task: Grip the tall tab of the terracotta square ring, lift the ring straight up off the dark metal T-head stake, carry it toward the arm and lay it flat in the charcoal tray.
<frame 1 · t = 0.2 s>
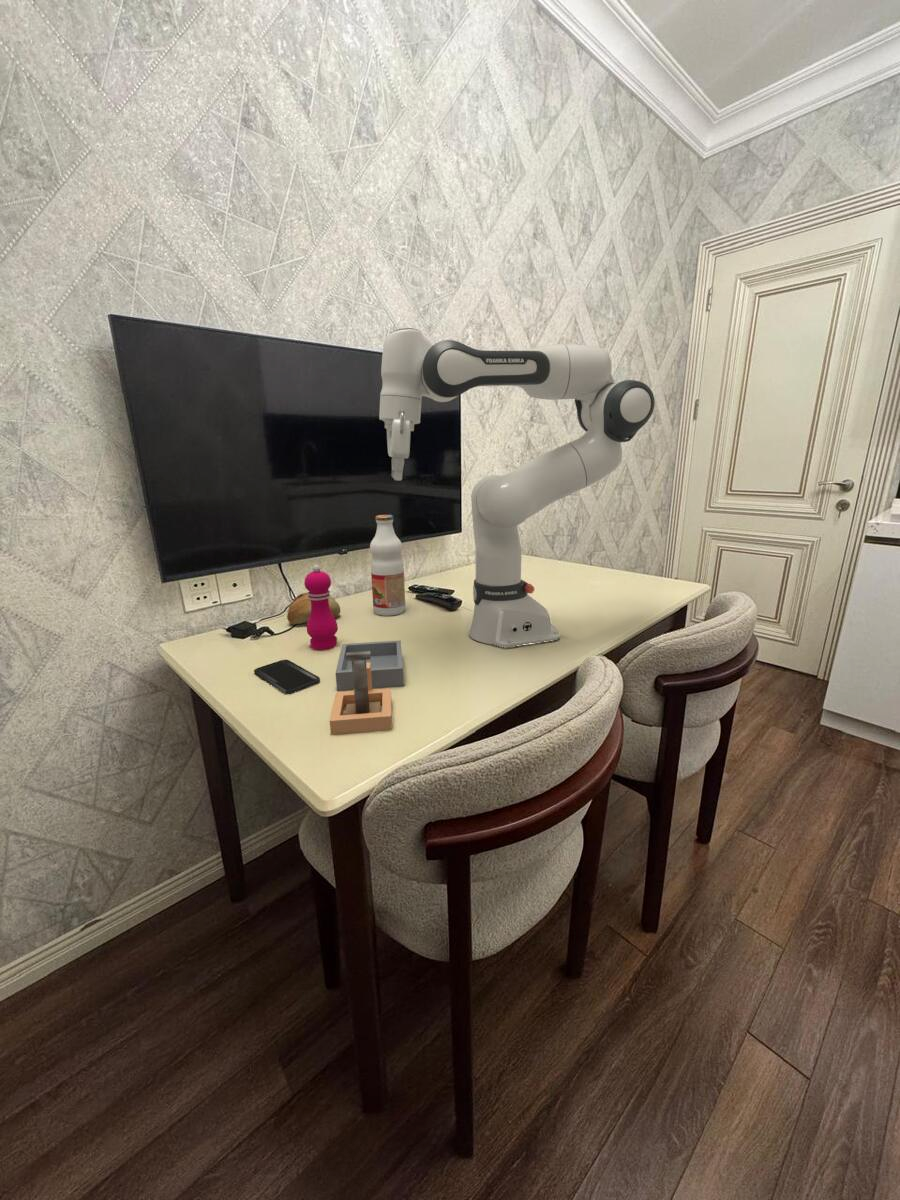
hand: (396, 479, 107), 39 cm above the table, tool pointing down, fingers open, 8 cm apart
tray: (371, 671, 101), on the table
pepper mill: (324, 646, 116), on the table
stake: (363, 716, 84), on the table
phone: (286, 679, 99), on the table
ring: (363, 716, 84), on the table
bread roll: (314, 621, 134), on the table
fruit juice: (389, 612, 140), on the table
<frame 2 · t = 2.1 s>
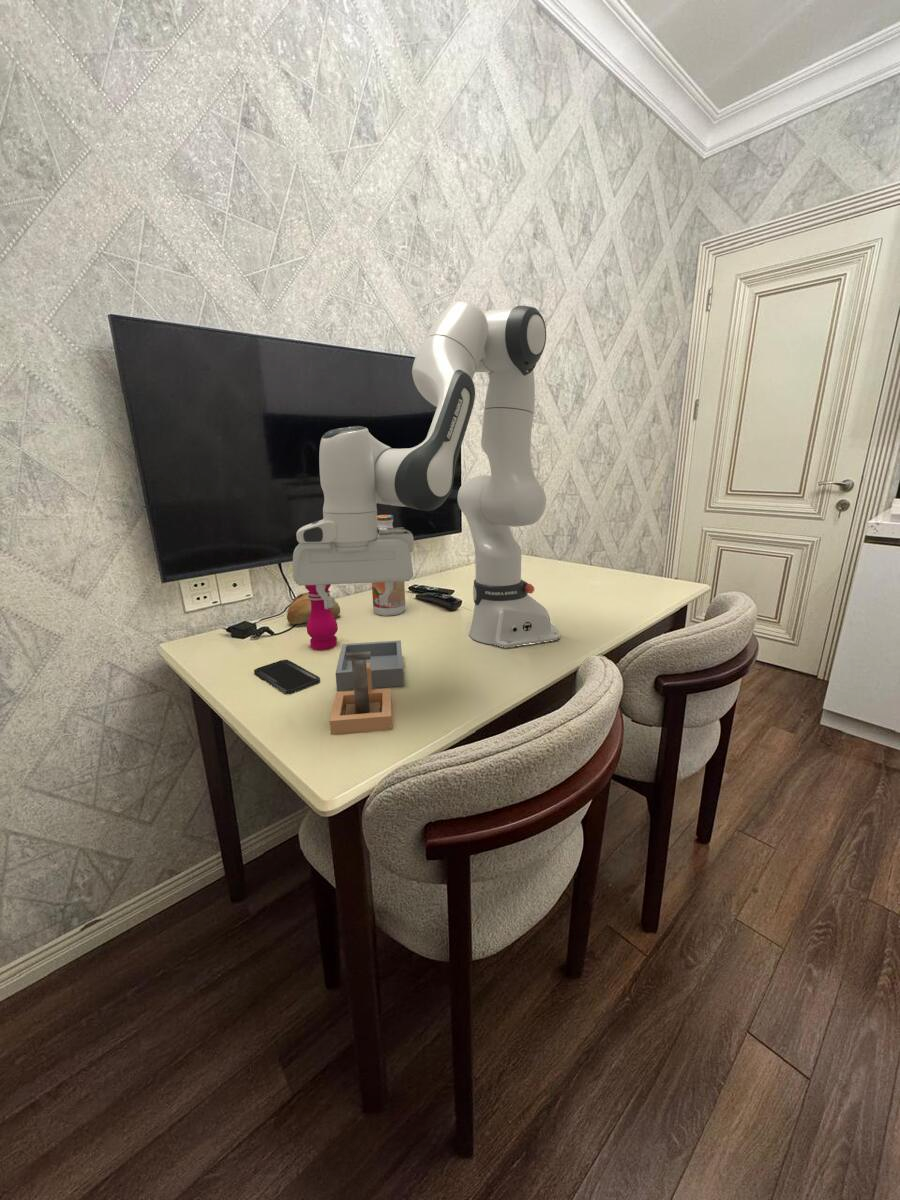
hand: (356, 606, 84), 18 cm above the table, tool pointing down, fingers open, 8 cm apart
nothing on the table moved.
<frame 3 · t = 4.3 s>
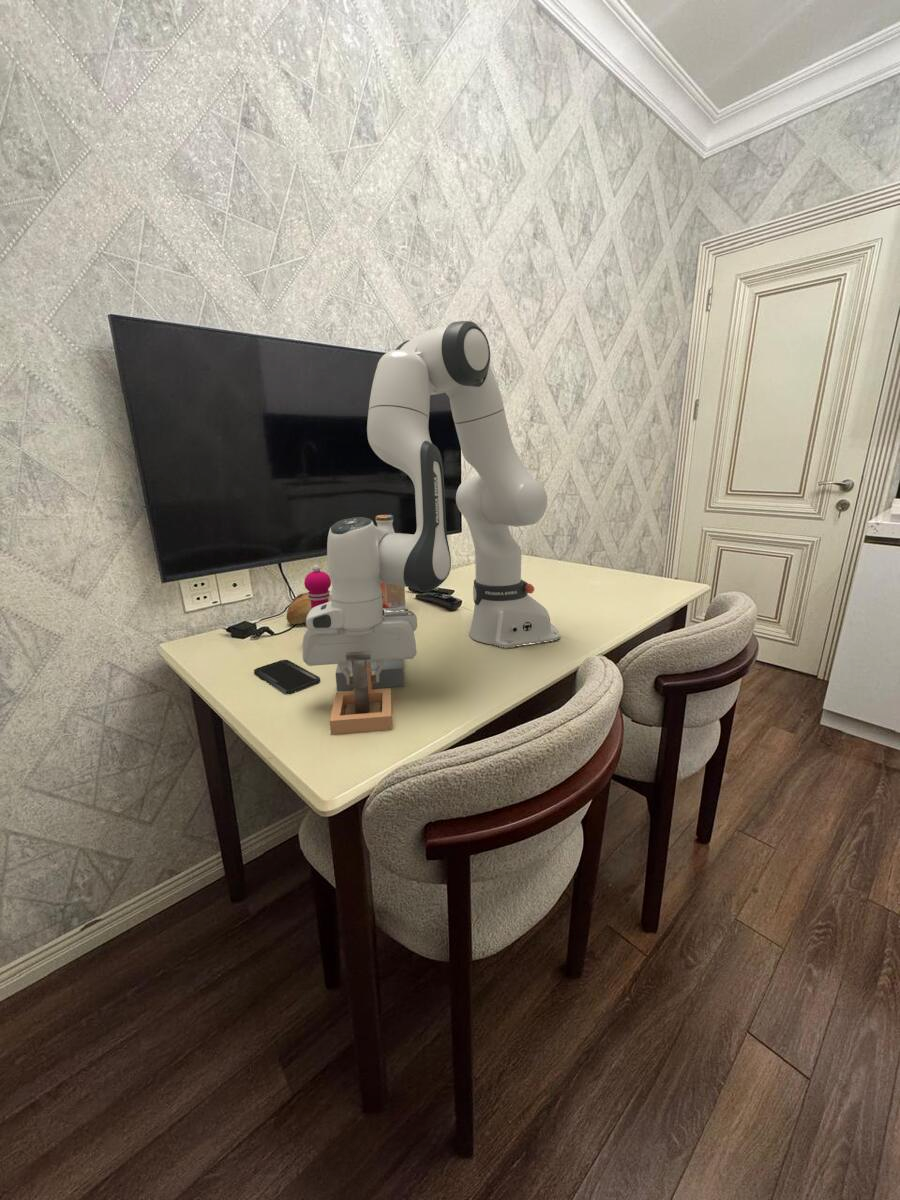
hand: (363, 682, 88), 4 cm above the table, tool pointing down, fingers closed on ring, 3 cm apart
ring: (363, 716, 84), on the table, touching gripper
everything else where it was.
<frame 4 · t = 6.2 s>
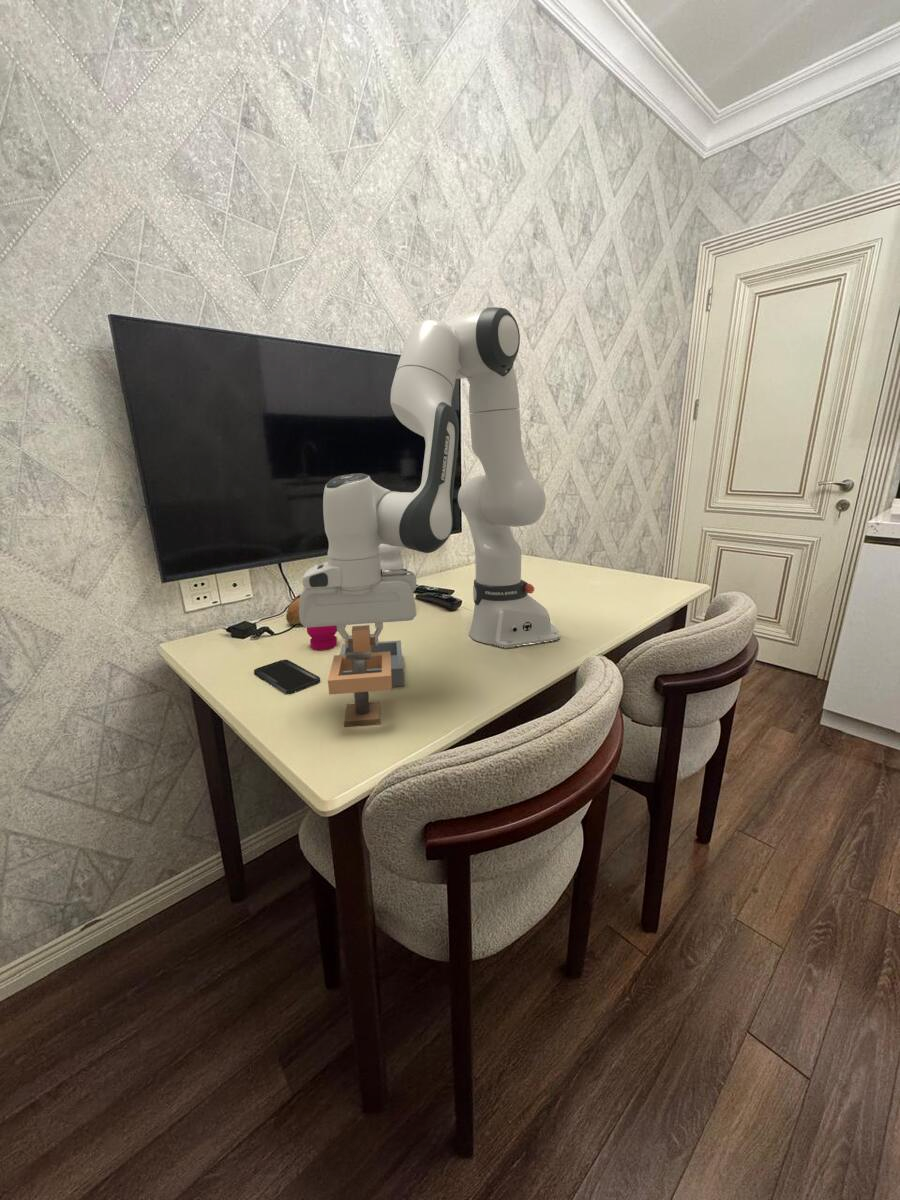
hand: (362, 645, 86), 11 cm above the table, tool pointing down, fingers closed on ring, 3 cm apart
ring: (362, 678, 82), point 7 cm above the table, touching gripper
everything else where it was.
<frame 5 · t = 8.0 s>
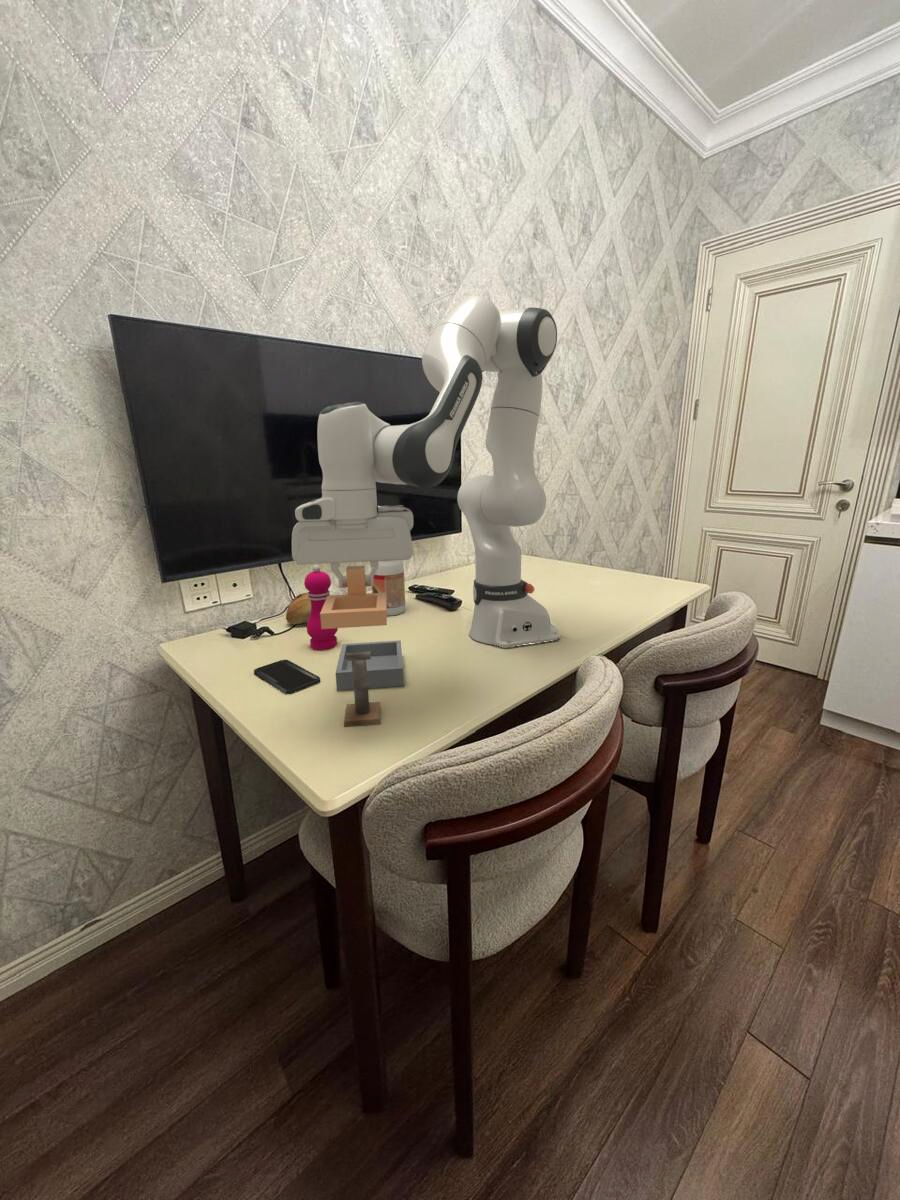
hand: (356, 586, 84), 22 cm above the table, tool pointing down, fingers closed on ring, 3 cm apart
ring: (356, 616, 79), point 18 cm above the table, touching gripper
everything else where it was.
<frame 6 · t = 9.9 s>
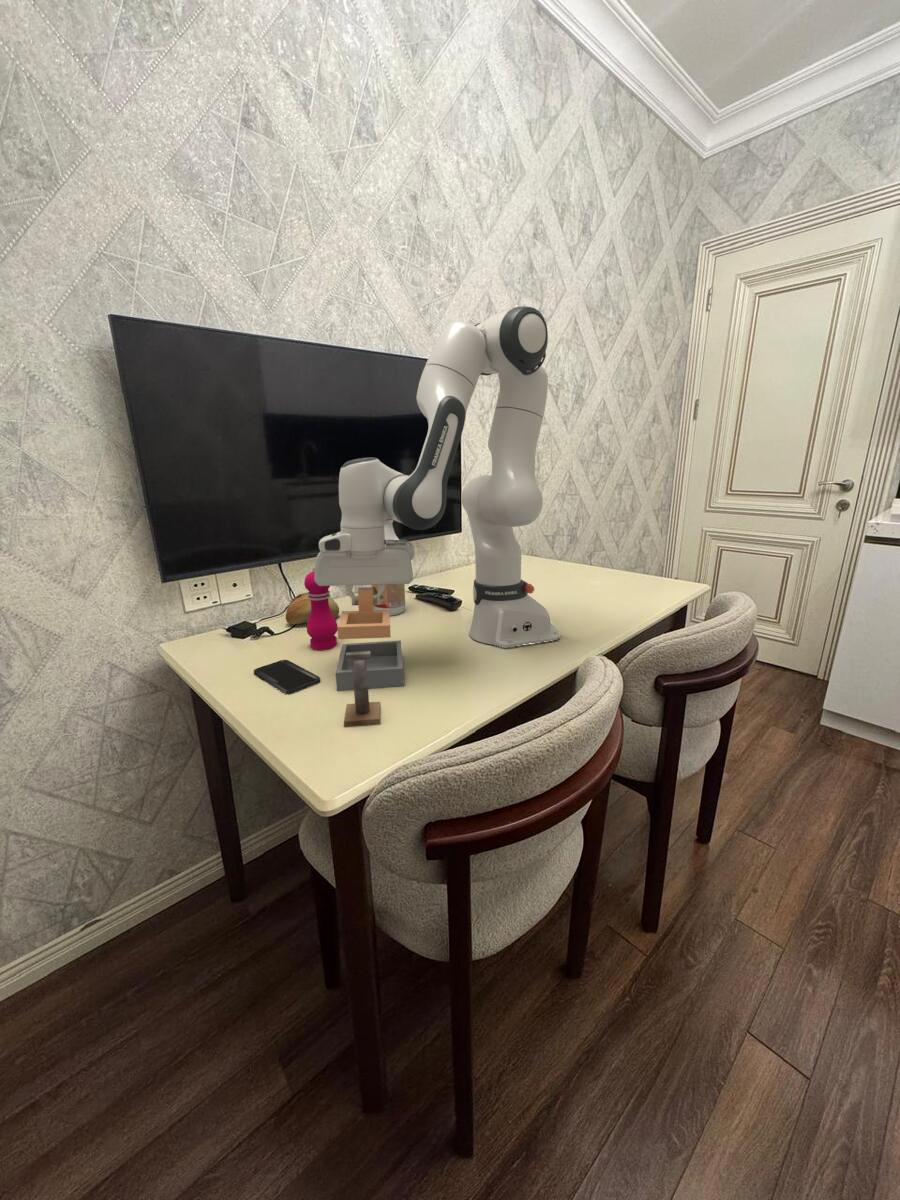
hand: (366, 604, 102), 14 cm above the table, tool pointing down, fingers closed on ring, 3 cm apart
ring: (365, 629, 97), point 10 cm above the table, touching gripper
everything else where it was.
when the fingers open (6 cm above the table, at t = 11.5 s): ring drops 1 cm, resting on tray.
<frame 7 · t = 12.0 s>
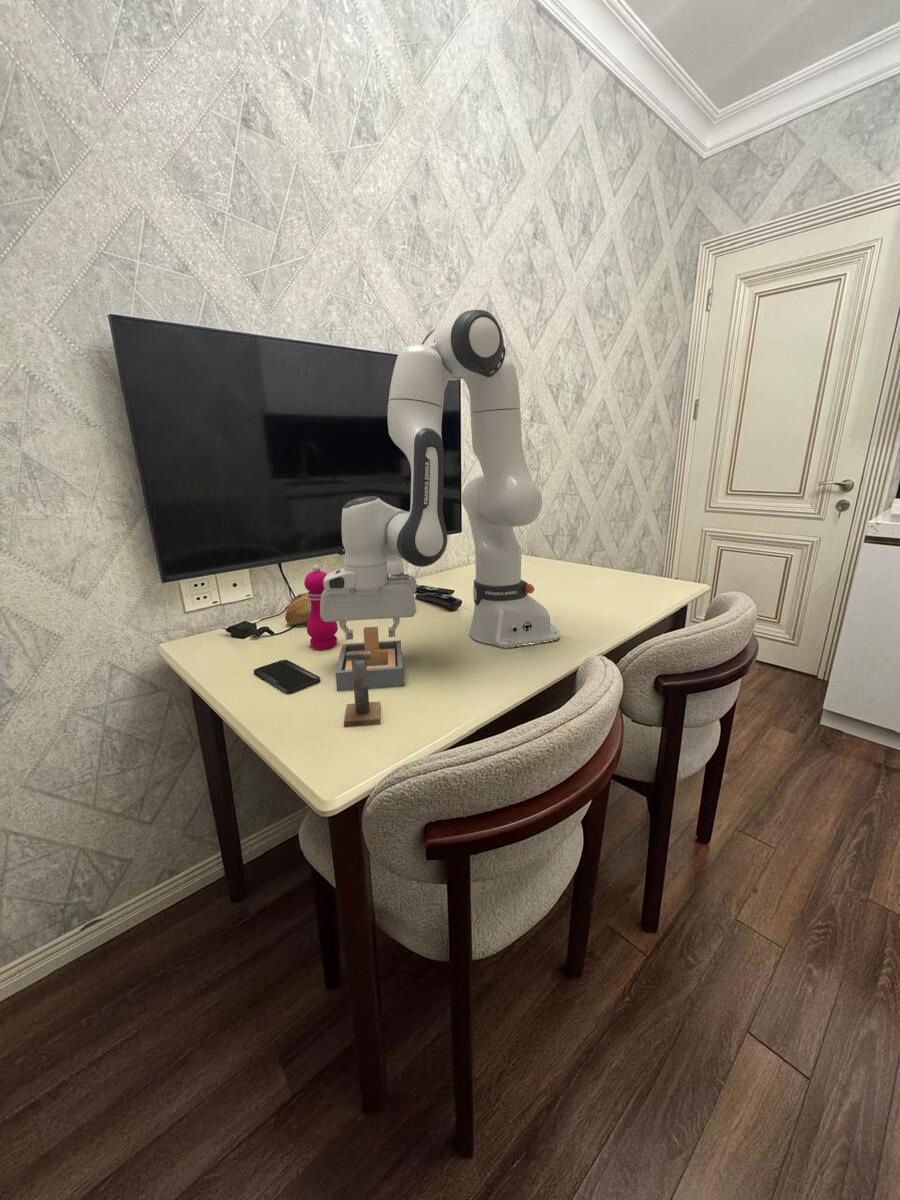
hand: (370, 637, 104), 6 cm above the table, tool pointing down, fingers open, 8 cm apart
ring: (371, 670, 100), point 1 cm above the table, touching tray
everything else where it was.
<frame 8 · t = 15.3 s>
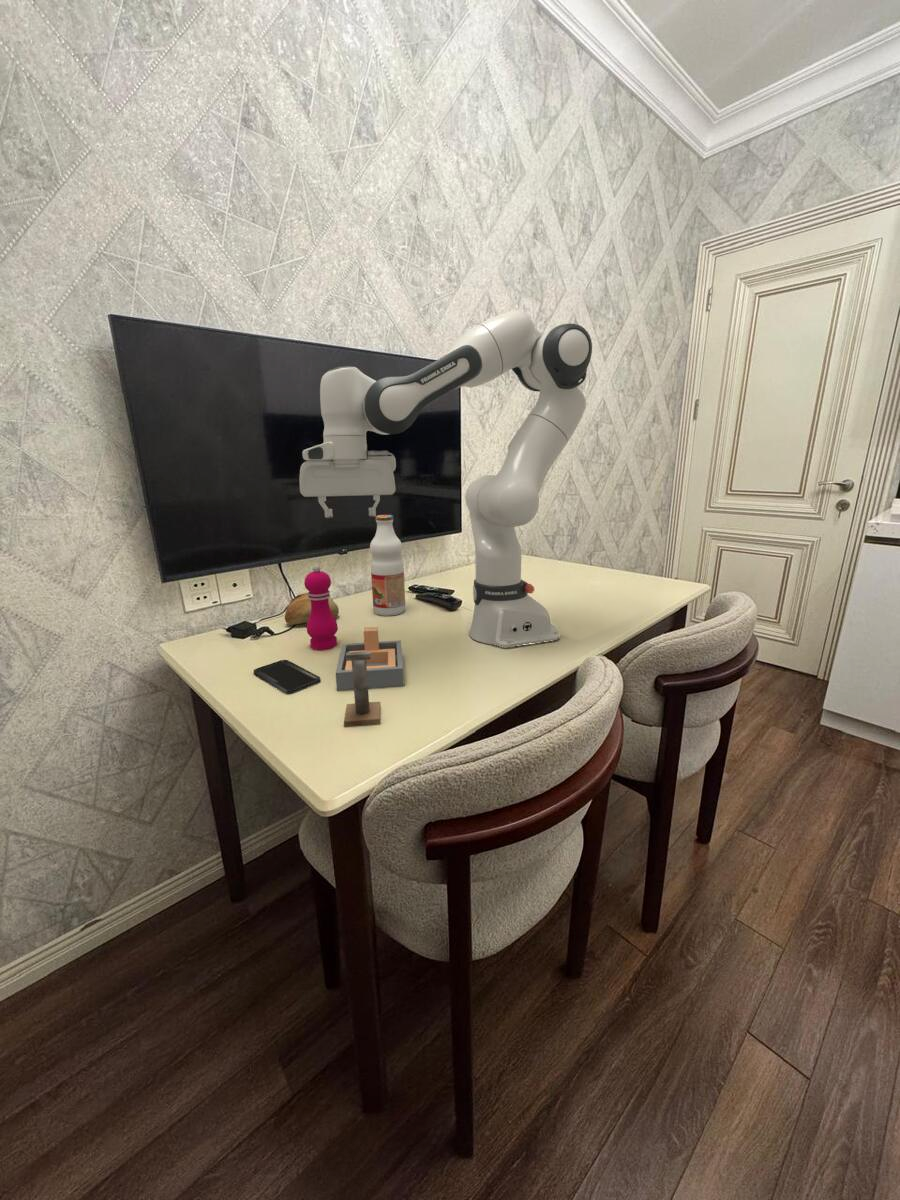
hand: (350, 516, 105), 31 cm above the table, tool pointing down, fingers open, 8 cm apart
nothing on the table moved.
at the end: ring 0.2 cm from the target spot on the tray, point 0.8 cm above the tray's base; ring tilted 0°; the gripper is holding nothing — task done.
